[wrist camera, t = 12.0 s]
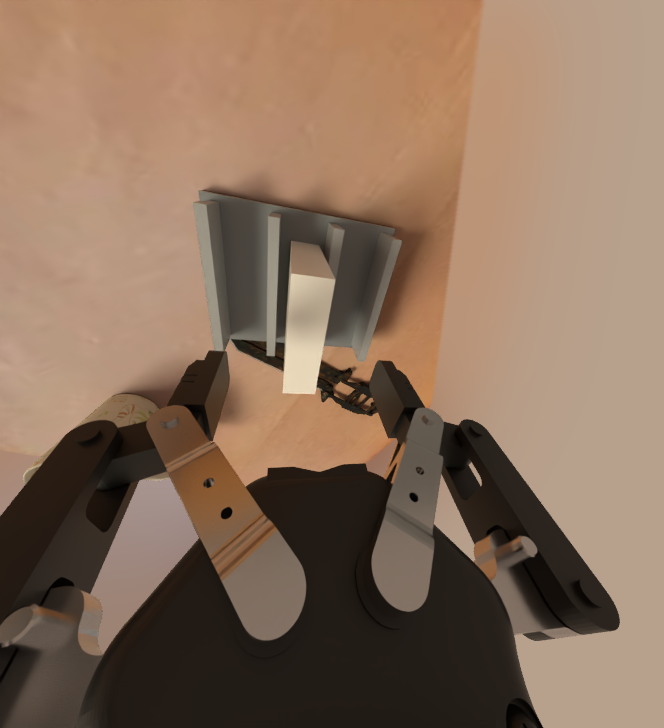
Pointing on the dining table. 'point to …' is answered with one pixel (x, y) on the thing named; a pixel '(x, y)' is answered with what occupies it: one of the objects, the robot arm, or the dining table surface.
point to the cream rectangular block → (306, 316)
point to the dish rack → (271, 269)
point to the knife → (323, 371)
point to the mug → (118, 411)
